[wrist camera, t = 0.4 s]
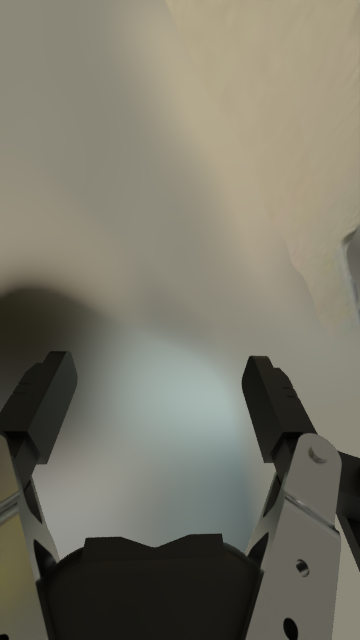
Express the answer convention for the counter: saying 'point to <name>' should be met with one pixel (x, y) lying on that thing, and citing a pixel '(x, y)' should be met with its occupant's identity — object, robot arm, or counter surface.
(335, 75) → the counter surface
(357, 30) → the counter surface
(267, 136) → the counter surface
